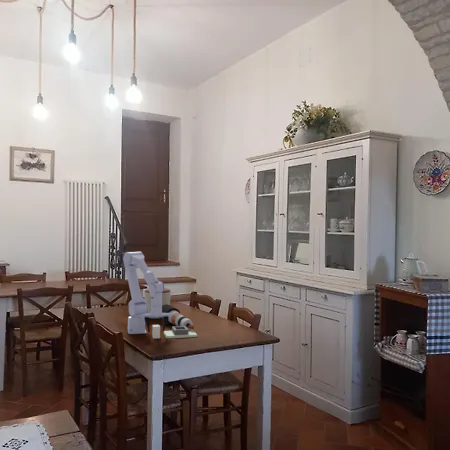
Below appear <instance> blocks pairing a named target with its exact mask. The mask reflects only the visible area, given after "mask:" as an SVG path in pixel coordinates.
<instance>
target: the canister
mask: <svg viewBox="0 0 450 450" xmlns="http://www.w3.org/2000/svg"><path fill="white" fill-rule="evenodd" d="M142 292H143V294H144V295H143V296H144V297H143V298H144V299H145V300H146V303H147V305H148V307H149V311H148V313H147V314H149V313H151V297H150V292H149V288H147V289H144V290H143V291H142ZM172 293H173V291H172V290H171V289H169V288H165V287H164V291H163V292H162V306H163V305H165V304H168V305H171V295H172ZM153 317H155V316H153ZM152 319H153V320H156V319H157V320H161V319H160V318H159V317H158V318H152Z"/></svg>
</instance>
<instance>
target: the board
mask: <svg viewBox="0 0 450 450" xmlns="http://www.w3.org/2000/svg"><path fill="white" fill-rule="evenodd" d="M163 335H164V336H165V338H166V339H181V338H183V339H184V338H197V337H198V334H197V333H196V332H195V331H194V329H190V330H188V328H187V327H186V326H176V325H175V326H171V330H165V331H163Z"/></svg>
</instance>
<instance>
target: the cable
mask: <svg viewBox="0 0 450 450" xmlns="http://www.w3.org/2000/svg"><path fill="white" fill-rule="evenodd" d="M162 313H170V317H168V318H169V319H168V321H167V324H166V325H169V326H174V325H175V326H186V327H187V328H188V330H194V328H195V326H194V324H193V321H192V320H191V319H190V318H188V317H186V316H185V315H184V314H182V313H181V312H180V309H178V308H177V307H174V306H172V305H171V304H170V305H168V304H165V305H163V306H162ZM159 318H160V319H159V320H161V321H162V322H163V317H159Z"/></svg>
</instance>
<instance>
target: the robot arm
mask: <svg viewBox="0 0 450 450" xmlns="http://www.w3.org/2000/svg"><path fill="white" fill-rule="evenodd" d="M122 260H123V265H124V269H125V272H126V277H127V282H128V287H129V291H130V296H131V300H130V301H129V302H128V313H129V315H130V316H128V317H127V333H128V335H134V334H135V335H137V334H138V335H140V334H147V333H151V332H150V331H151V328H150V323H151V320H150V319H153V318H158V317H163V321H162V332H164V331H166V326H167V325H168V324H167V321H168V319H169V318H168V317H170V313H162V292H163V291H164V288H165V285H164V282H162V281H160V280H159V279H158V278H157V276H156V274H155V273H154V272H153V271H150V269H149V267H148V265H147V263H146V261H145V255H144V254H143V252H142V251H130V252H129V251H126V252H125V253H124V254H123V257H122ZM137 269H139V270H140V271H141V272H142V274H143V279H144V281H145V282H146V284H147V286H148V289H149V292H150V297H151V313H149V314H147V313H148V311H149V307H148V305H147V303H146V300H145V297H142V294H141V288H140V282H139V278H138V273H137ZM153 316H155V317H153ZM146 327H147V330H146Z"/></svg>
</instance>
